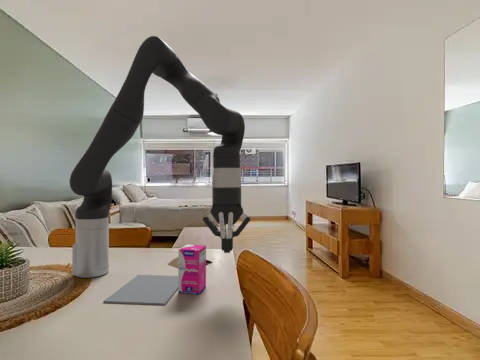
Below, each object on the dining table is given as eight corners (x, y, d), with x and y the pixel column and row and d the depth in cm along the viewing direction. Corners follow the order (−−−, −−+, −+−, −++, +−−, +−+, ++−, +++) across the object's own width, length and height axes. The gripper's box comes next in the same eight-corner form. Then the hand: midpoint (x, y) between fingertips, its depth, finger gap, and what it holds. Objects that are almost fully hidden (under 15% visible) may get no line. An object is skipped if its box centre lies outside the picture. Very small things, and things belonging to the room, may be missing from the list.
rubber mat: (103, 302, 74) (103, 300, 74) (138, 276, 94) (138, 274, 94) (165, 305, 72) (165, 303, 72) (187, 277, 92) (187, 276, 92)
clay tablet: (182, 273, 99) (182, 264, 99) (163, 266, 105) (163, 258, 105) (215, 263, 110) (215, 255, 110) (196, 258, 116) (196, 251, 116)
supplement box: (177, 293, 80) (177, 248, 80) (186, 285, 85) (186, 243, 85) (199, 295, 78) (199, 249, 78) (206, 287, 84) (206, 244, 84)
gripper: (252, 185, 84) (253, 249, 84) (204, 185, 85) (205, 248, 85) (251, 186, 77) (251, 256, 77) (198, 186, 78) (199, 255, 78)
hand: (227, 252), depth 81 cm, fingers closed
